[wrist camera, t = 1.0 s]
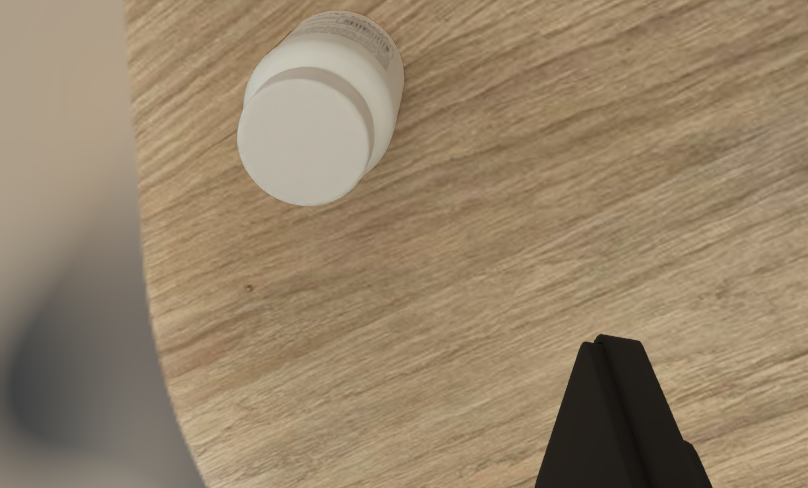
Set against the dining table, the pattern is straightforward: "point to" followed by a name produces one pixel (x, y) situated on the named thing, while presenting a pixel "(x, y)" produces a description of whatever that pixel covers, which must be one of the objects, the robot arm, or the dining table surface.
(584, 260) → the dining table surface
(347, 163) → the pill bottle
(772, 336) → the dining table surface
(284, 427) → the dining table surface
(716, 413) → the dining table surface
